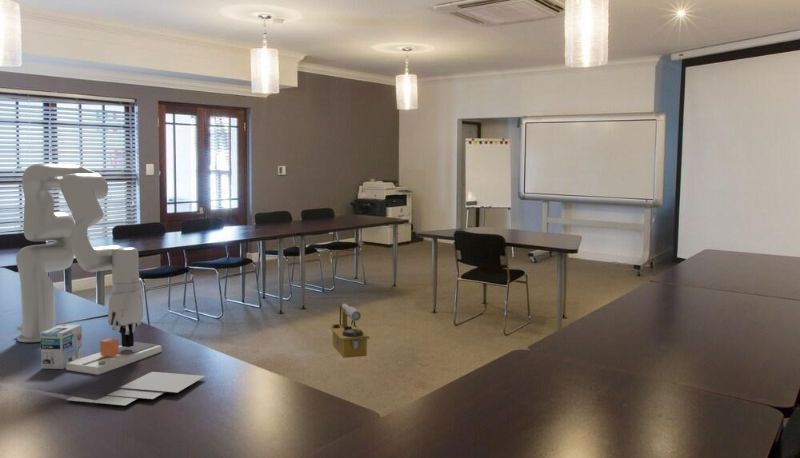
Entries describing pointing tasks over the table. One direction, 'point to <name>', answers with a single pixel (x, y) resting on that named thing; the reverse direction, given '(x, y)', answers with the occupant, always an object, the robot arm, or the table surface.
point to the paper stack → (145, 388)
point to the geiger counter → (349, 334)
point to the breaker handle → (109, 347)
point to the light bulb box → (61, 346)
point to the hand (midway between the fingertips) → (127, 346)
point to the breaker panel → (113, 358)
